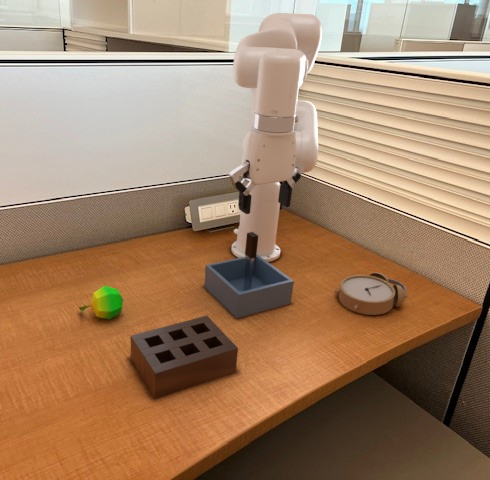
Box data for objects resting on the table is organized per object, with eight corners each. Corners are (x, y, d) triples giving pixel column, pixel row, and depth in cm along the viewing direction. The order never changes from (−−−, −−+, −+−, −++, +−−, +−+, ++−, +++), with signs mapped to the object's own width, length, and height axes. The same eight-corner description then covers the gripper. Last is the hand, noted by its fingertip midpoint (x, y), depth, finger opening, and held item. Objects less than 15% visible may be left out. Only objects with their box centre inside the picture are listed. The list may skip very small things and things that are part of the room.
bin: (204, 287, 107) (205, 264, 105) (254, 275, 113) (256, 253, 111) (236, 318, 96) (238, 294, 94) (290, 303, 102) (294, 280, 100)
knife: (241, 291, 105) (246, 232, 99) (246, 289, 105) (252, 231, 100) (246, 295, 103) (252, 236, 97) (252, 294, 104) (258, 235, 98)
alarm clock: (328, 281, 106) (385, 262, 109) (328, 299, 108) (383, 280, 111) (360, 308, 96) (421, 286, 100) (359, 327, 98) (419, 305, 102)
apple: (122, 278, 94) (77, 287, 90) (131, 309, 92) (84, 319, 88) (115, 291, 100) (72, 299, 96) (123, 319, 98) (79, 329, 94)
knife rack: (130, 359, 84) (130, 335, 81) (205, 337, 90) (207, 315, 88) (154, 398, 75) (155, 373, 73) (235, 371, 82) (238, 348, 80)
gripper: (298, 116, 96) (287, 196, 104) (223, 122, 89) (218, 207, 96) (323, 124, 90) (309, 208, 98) (245, 131, 83) (237, 221, 90)
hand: (264, 208), depth 97 cm, fingers open, 9 cm apart
